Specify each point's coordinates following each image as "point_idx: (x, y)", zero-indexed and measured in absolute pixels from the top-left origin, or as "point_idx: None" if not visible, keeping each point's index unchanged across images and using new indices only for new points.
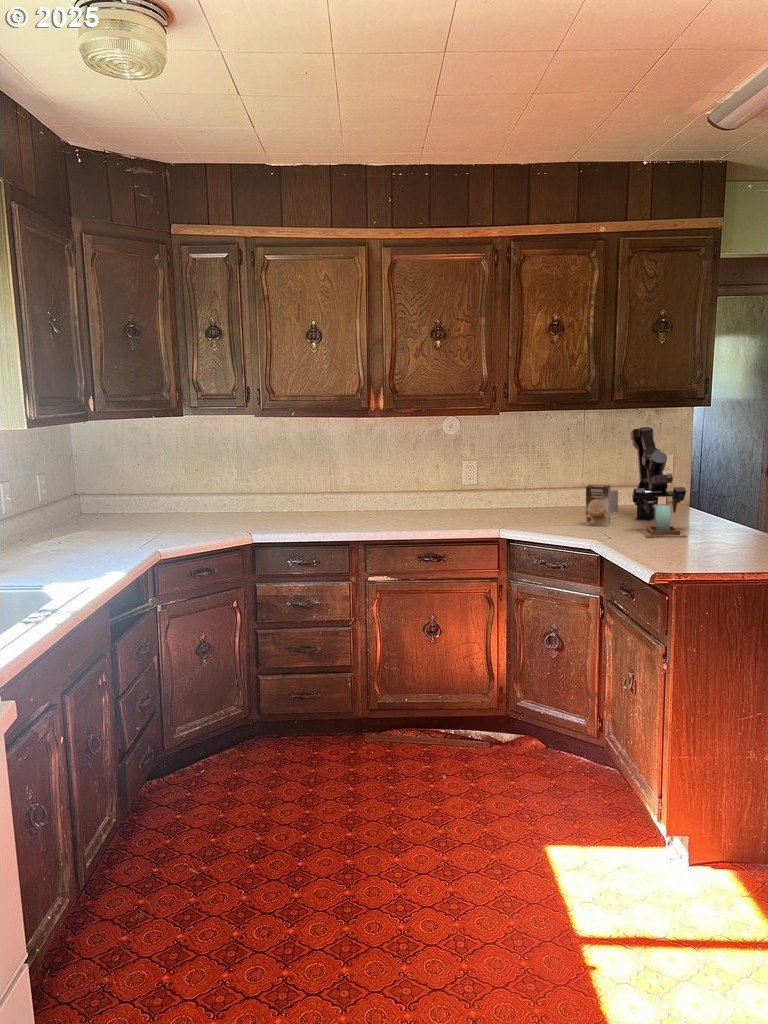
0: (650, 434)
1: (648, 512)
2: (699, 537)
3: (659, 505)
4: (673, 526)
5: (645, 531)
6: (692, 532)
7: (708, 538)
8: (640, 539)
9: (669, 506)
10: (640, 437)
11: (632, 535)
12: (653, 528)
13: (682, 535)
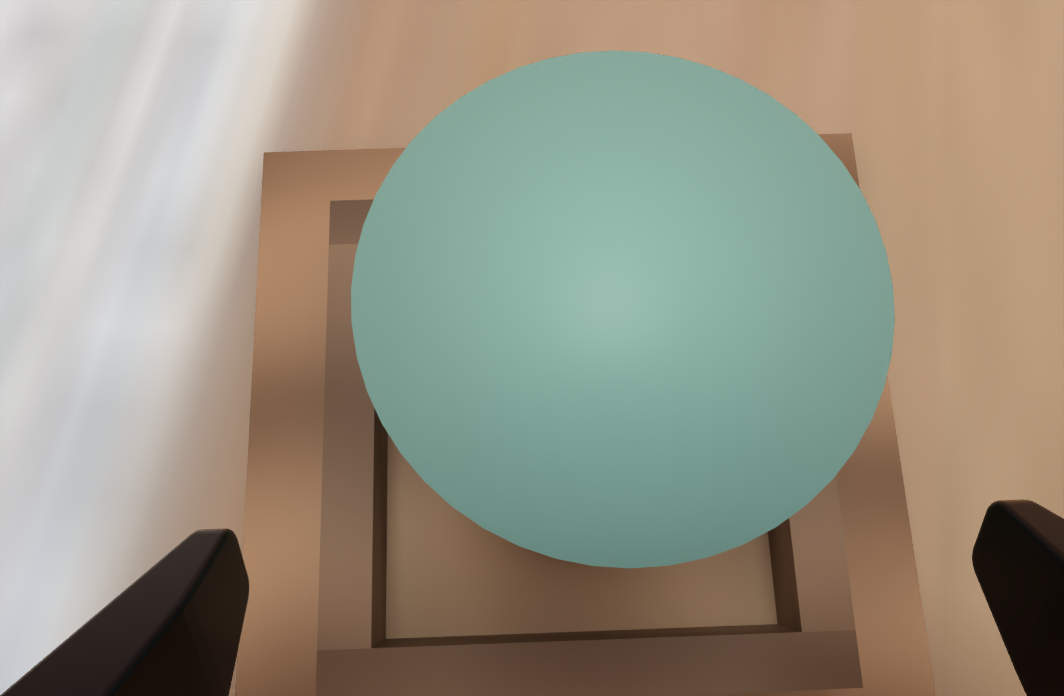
0: None
1: (1015, 512)
2: (97, 169)
3: (750, 455)
4: (334, 666)
5: (852, 572)
6: (57, 589)
7: (4, 95)
8: (930, 71)
9: (407, 184)
10: None
11: (1051, 374)
12: (719, 630)
13: (319, 188)
